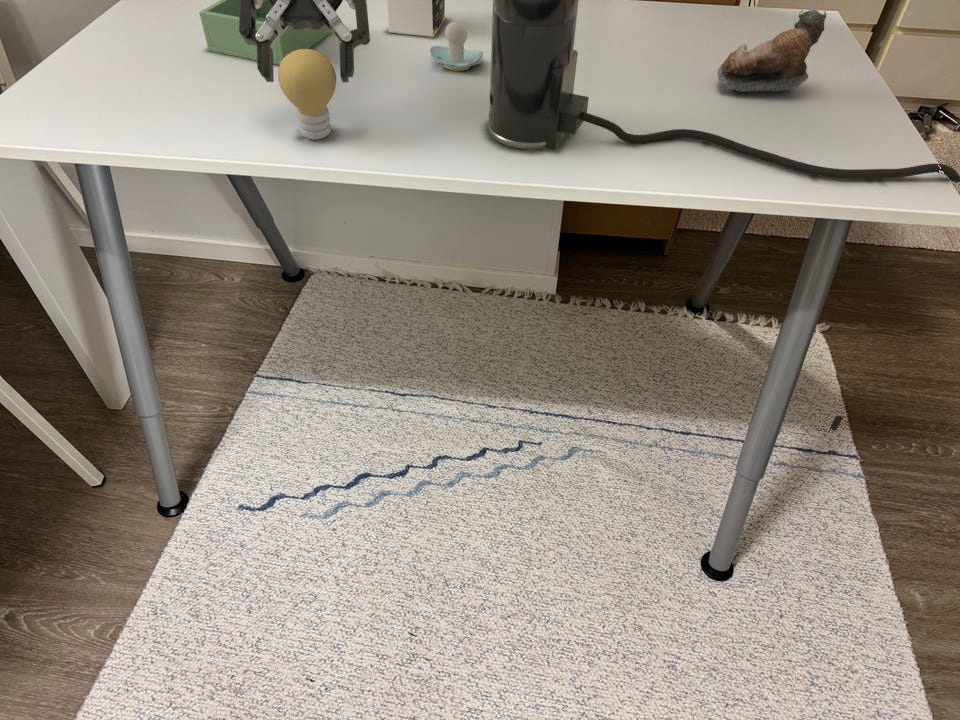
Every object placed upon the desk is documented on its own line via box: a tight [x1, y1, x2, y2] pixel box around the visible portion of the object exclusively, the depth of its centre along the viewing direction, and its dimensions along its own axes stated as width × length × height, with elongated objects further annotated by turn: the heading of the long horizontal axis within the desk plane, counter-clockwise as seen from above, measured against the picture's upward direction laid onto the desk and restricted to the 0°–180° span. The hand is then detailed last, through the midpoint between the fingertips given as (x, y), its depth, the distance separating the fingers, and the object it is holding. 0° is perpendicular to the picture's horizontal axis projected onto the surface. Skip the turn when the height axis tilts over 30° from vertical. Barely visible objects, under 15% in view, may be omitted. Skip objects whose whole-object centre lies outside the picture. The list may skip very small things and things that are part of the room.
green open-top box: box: [198, 0, 331, 66], centre depth 104 cm, size 13×13×5 cm
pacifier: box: [429, 21, 484, 72], centre depth 100 cm, size 7×6×6 cm
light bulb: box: [277, 48, 337, 141], centre depth 84 cm, size 6×6×10 cm
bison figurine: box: [717, 9, 827, 93], centre depth 95 cm, size 12×7×10 cm, turn 93°
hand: (306, 79), depth 82 cm, fingers open, 8 cm apart
